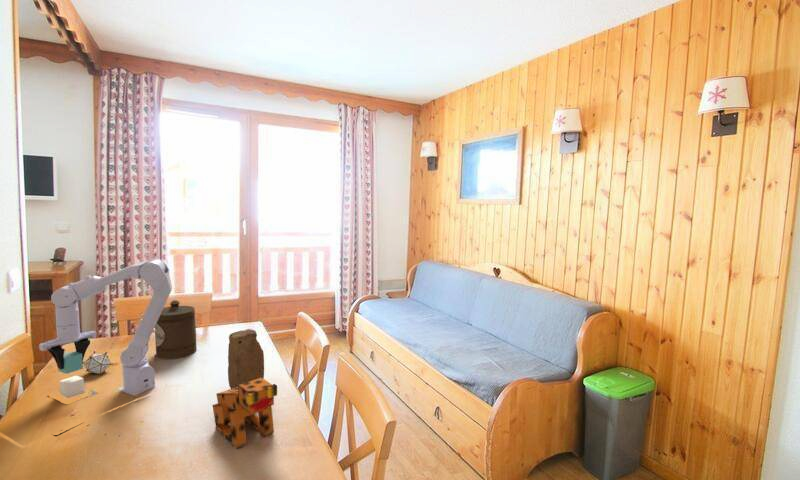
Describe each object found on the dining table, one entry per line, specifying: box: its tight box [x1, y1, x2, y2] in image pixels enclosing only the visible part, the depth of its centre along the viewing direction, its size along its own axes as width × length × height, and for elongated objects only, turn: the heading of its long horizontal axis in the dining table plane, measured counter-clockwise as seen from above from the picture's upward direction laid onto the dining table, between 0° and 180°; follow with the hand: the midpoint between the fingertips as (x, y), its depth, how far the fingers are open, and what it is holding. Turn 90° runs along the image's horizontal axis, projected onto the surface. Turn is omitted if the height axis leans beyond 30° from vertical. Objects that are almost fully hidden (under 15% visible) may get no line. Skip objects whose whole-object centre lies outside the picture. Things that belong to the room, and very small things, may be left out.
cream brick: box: [59, 375, 85, 398], centre depth 131 cm, size 5×5×5 cm
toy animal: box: [212, 378, 278, 449], centre depth 112 cm, size 10×20×16 cm, turn 46°
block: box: [227, 328, 265, 389], centre depth 138 cm, size 11×8×20 cm
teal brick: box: [57, 350, 84, 375], centre depth 130 cm, size 5×5×5 cm
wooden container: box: [154, 299, 197, 360], centre depth 168 cm, size 15×15×22 cm
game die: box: [83, 350, 114, 375], centre depth 147 cm, size 9×8×10 cm
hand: (70, 365), depth 130 cm, fingers closed on teal brick, 5 cm apart
